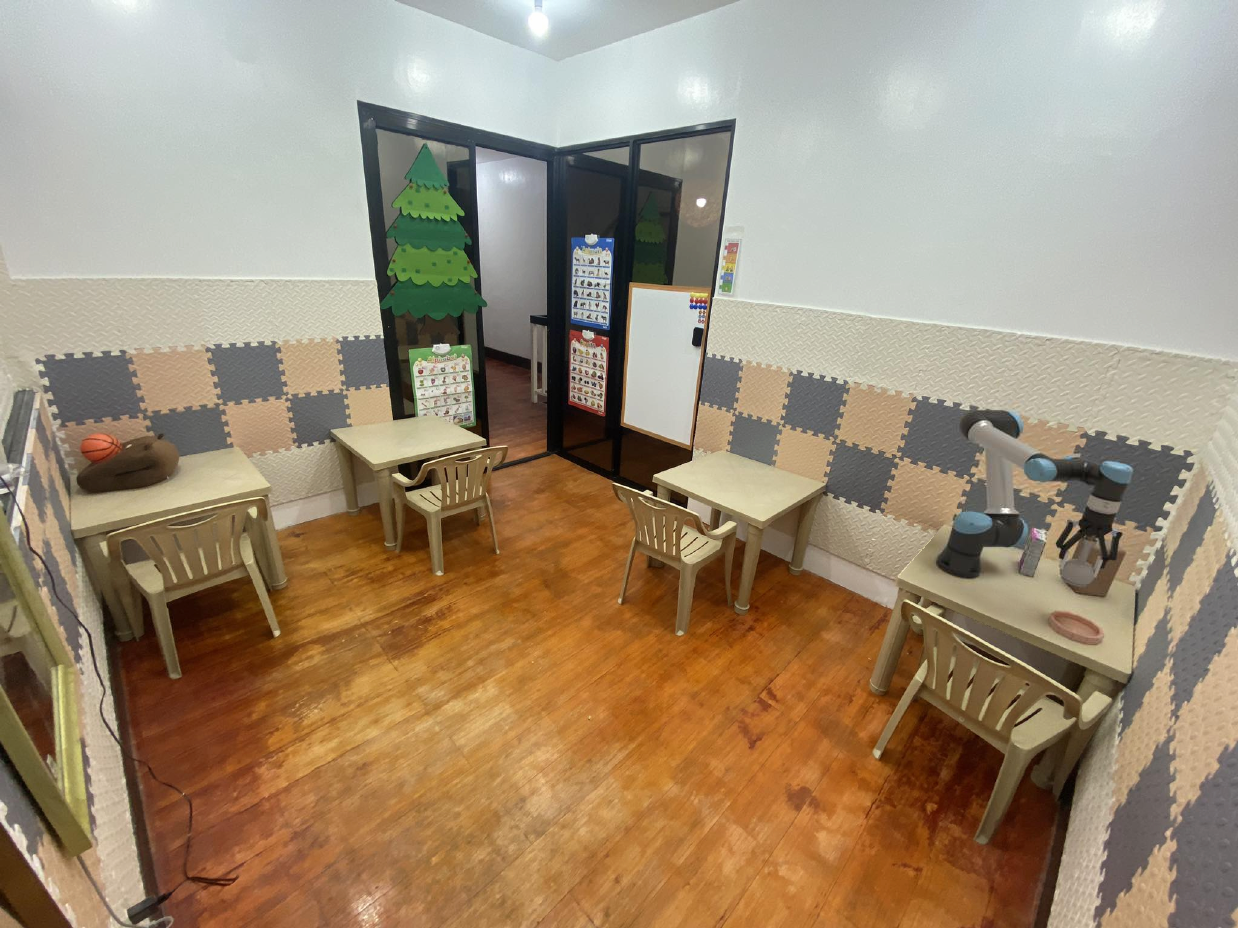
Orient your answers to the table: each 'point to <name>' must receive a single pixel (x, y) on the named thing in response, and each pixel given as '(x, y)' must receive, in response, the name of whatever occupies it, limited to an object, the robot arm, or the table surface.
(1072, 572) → the potion bottle
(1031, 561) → the candy bar box
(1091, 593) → the wooden block
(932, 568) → the table surface
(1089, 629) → the saucer
